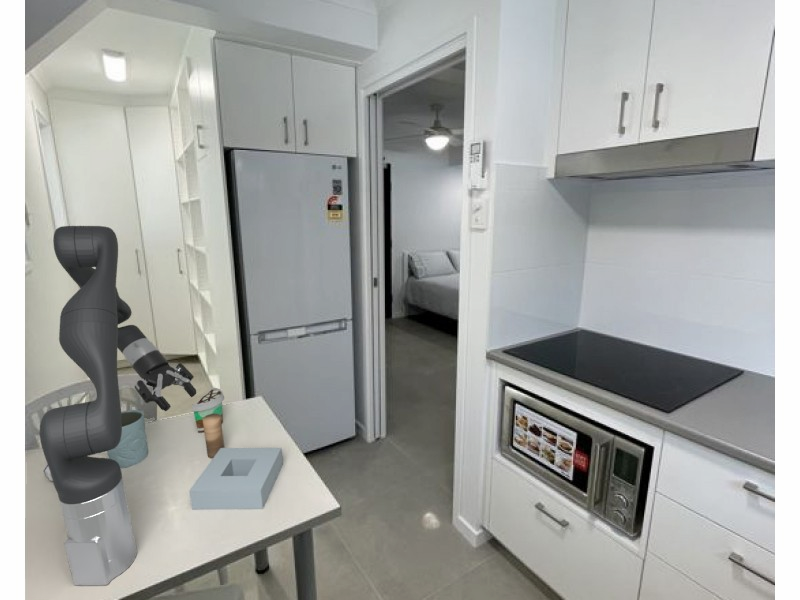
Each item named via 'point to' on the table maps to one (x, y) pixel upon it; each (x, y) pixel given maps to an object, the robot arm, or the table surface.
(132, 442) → the teal plant pot
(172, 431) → the table surface
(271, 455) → the socket block
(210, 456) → the peg
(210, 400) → the food container
